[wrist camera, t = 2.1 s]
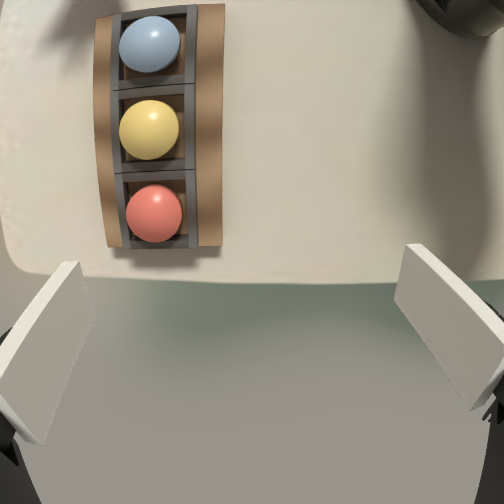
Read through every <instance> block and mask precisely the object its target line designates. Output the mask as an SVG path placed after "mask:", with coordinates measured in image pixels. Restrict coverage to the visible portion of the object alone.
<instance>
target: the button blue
mask: <svg viewBox="0 0 504 504" xmlns="http://www.w3.org/2000/svg"><path fill="white" fill-rule="evenodd" d="M180 48H181V37H180V34H179V32H178V30H177V29H176V27H175V26H174V25H173V24H172V23H171V22H170V21H169V20H167V19H165V18H162V17H158V16H149V17H144V18H141V19H139V20H137V21H135V22H134V23H132V24H131V25H130V26H129V27H128V28H127V29H126V30H125V32H124V33H123V35H122V37H121V40H120V43H119V53H120V57H121V59H122V61H123V62H124V63H125V64H126V65H127V66H128V67H129V68H131V69H133V70H136V71H139V72H143V73H154V72H158V71H161V70H163V69H165V68H166V67H168V66H169V65H170V64H172V63H173V61H174V60H175V59H176V58H177V56H178V54H179V52H180Z"/></svg>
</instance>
